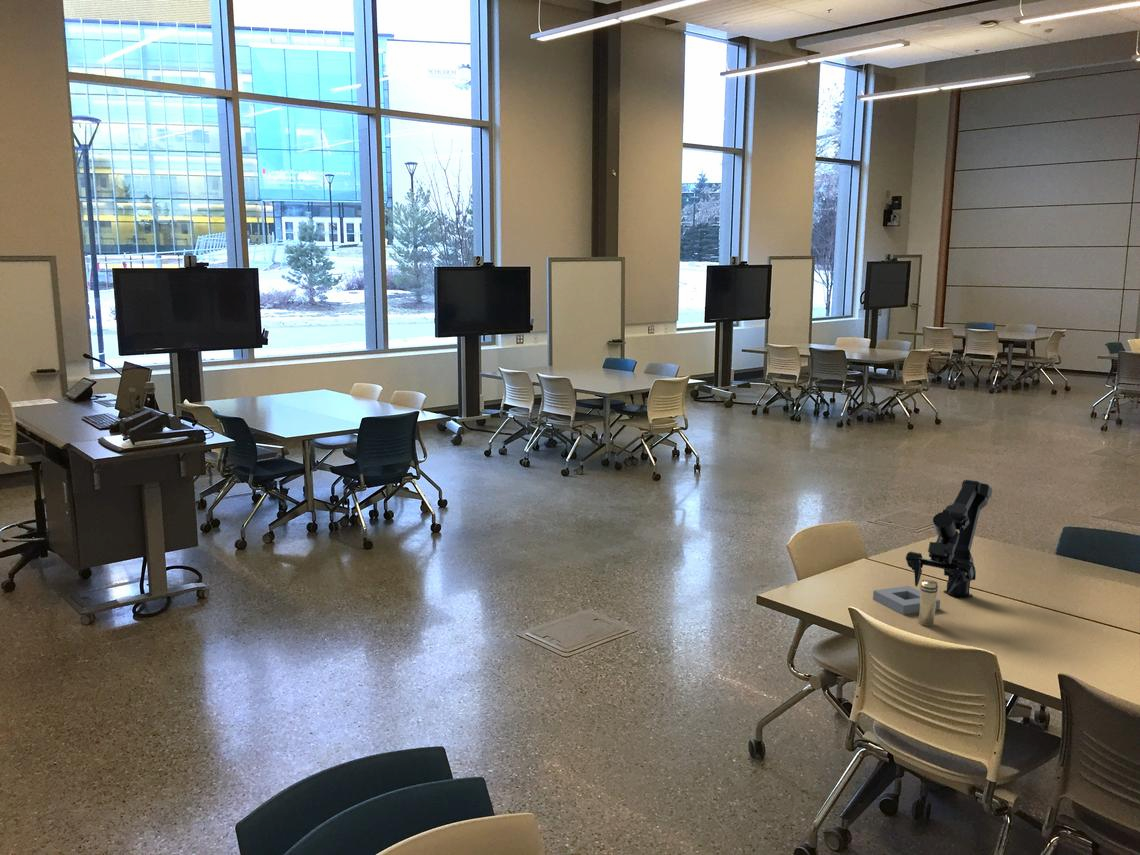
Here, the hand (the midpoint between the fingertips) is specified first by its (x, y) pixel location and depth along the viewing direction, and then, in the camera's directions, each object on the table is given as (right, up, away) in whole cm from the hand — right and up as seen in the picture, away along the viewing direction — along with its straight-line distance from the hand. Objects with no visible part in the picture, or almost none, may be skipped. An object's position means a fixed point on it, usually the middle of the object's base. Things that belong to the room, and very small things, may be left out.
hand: (931, 589), depth 264 cm
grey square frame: (-2, -8, +15) cm, 17 cm away
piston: (-2, -10, -1) cm, 10 cm away
